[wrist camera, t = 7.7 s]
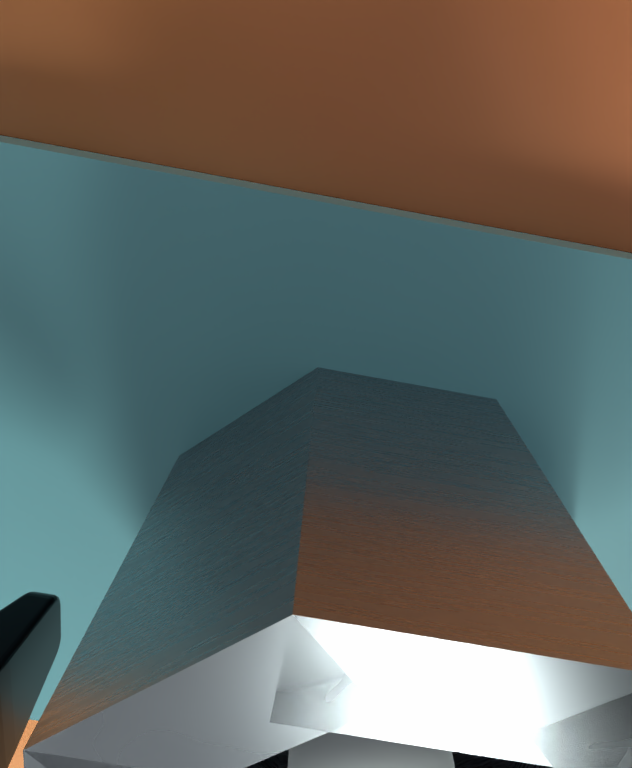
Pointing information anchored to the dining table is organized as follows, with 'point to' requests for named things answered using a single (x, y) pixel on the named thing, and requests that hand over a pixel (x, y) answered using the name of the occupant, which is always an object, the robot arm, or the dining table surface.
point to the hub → (352, 598)
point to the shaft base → (271, 356)
